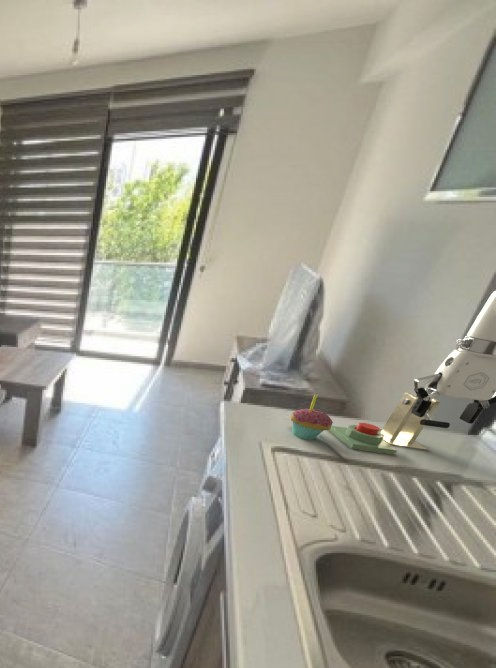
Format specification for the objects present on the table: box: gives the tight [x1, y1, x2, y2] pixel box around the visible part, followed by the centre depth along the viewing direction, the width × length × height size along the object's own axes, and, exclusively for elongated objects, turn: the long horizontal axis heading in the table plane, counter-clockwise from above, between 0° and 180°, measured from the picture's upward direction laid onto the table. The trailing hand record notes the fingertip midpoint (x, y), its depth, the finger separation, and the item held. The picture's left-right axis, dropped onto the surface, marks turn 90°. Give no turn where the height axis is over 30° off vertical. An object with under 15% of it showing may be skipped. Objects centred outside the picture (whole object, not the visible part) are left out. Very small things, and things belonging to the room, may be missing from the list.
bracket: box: [379, 392, 441, 451], centre depth 122 cm, size 10×8×13 cm
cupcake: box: [289, 391, 334, 440], centre depth 123 cm, size 9×8×12 cm
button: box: [356, 422, 380, 436], centre depth 120 cm, size 4×4×2 cm
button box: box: [329, 424, 397, 456], centre depth 121 cm, size 11×9×4 cm
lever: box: [415, 395, 451, 429], centre depth 117 cm, size 10×5×2 cm, turn 163°
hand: (440, 418), depth 113 cm, fingers open, 9 cm apart
